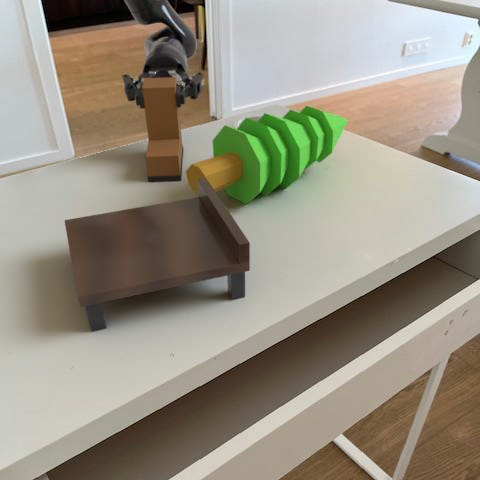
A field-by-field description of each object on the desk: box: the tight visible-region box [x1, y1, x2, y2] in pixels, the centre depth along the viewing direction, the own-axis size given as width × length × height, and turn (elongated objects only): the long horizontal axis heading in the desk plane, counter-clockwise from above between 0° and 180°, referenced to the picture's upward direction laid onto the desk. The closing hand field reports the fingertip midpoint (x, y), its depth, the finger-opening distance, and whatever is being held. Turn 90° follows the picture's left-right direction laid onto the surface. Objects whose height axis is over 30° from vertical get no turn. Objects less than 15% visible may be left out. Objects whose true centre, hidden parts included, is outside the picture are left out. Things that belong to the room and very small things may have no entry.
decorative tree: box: [185, 105, 349, 205], centre depth 76 cm, size 11×12×30 cm
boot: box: [142, 77, 184, 183], centre depth 81 cm, size 5×12×12 cm, turn 3°
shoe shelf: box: [64, 178, 251, 332], centre depth 59 cm, size 18×16×7 cm
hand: (160, 101), depth 78 cm, fingers closed on boot, 5 cm apart
